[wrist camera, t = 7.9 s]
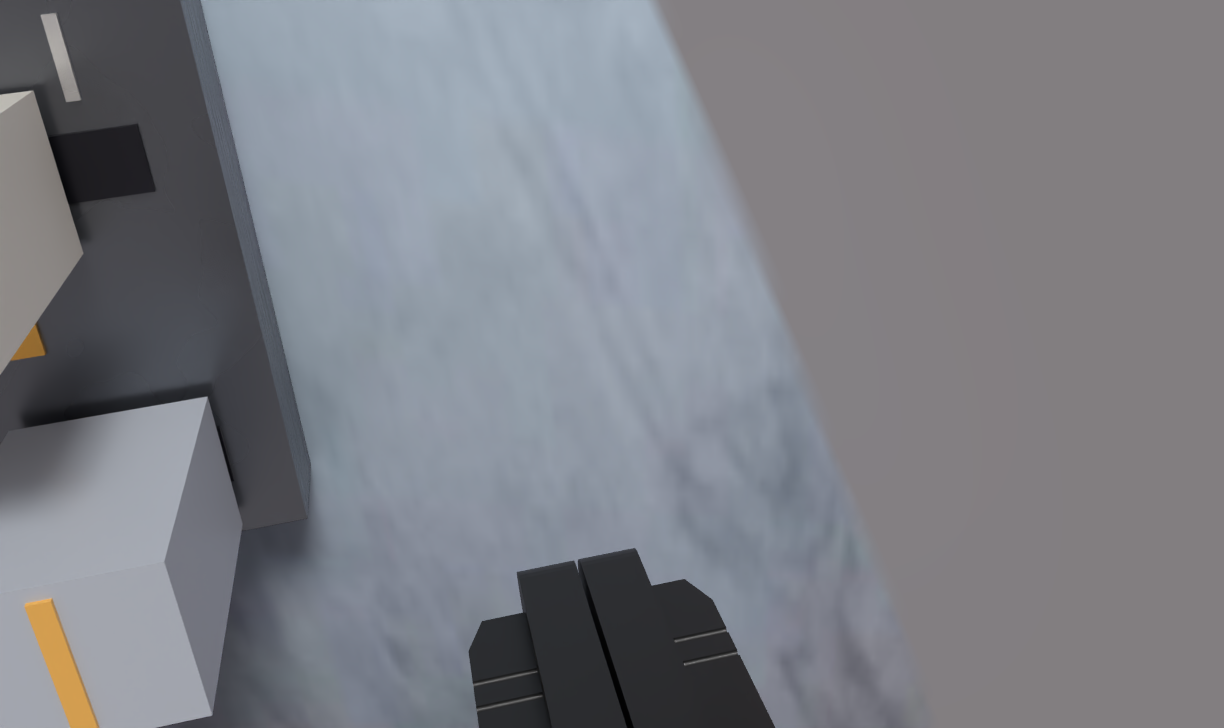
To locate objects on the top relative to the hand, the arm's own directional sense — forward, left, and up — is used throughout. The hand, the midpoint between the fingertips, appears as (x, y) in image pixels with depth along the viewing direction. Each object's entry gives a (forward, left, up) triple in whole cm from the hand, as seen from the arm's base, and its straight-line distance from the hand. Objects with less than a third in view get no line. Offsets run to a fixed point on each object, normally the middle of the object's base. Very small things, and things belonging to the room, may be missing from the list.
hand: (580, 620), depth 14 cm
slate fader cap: (0, -6, -6) cm, 9 cm away
